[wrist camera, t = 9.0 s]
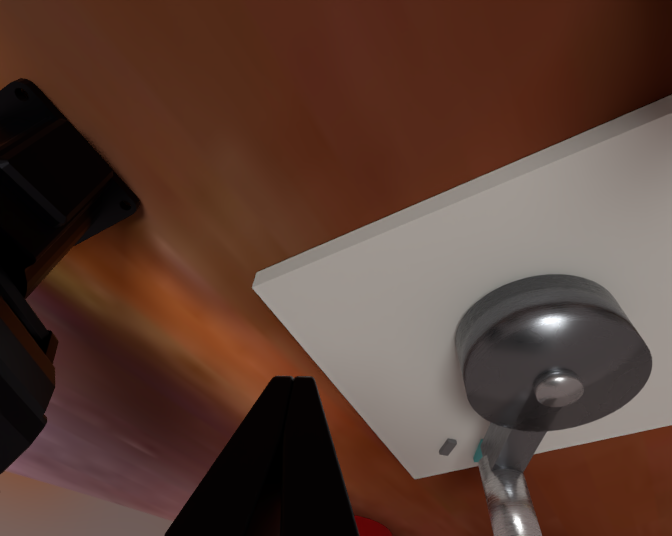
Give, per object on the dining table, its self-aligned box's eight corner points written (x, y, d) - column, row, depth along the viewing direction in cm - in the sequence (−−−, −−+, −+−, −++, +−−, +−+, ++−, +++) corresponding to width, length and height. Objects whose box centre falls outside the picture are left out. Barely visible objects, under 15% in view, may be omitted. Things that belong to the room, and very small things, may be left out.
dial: (474, 269, 20) (517, 399, 15) (650, 278, 20) (760, 412, 14) (425, 439, 29) (440, 560, 23) (547, 446, 29) (592, 569, 23)
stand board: (413, 463, 34) (414, 483, 33) (256, 272, 23) (250, 291, 22) (733, 392, 27) (750, 413, 26) (730, 69, 16) (759, 81, 15)
